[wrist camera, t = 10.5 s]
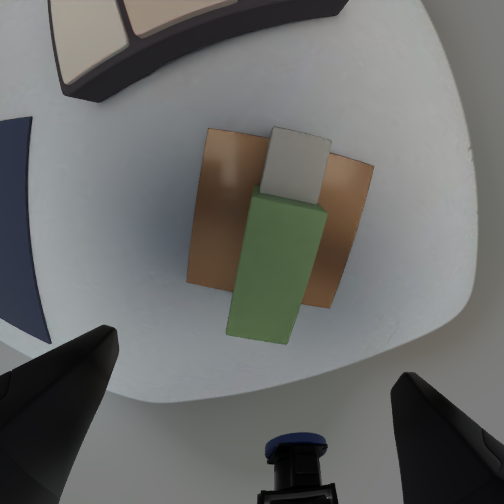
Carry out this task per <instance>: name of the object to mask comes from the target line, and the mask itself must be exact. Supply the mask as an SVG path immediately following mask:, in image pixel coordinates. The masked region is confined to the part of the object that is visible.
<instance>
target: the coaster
mask: <svg viewBox="0 0 504 504" xmlns="http://www.w3.org/2000/svg"><path fill="white" fill-rule="evenodd" d="M269 139H270V138H265V137H260V136H255V135H249V134H244V133H238V132H232V131H225V130H219V129H212V128H208V132H207V138H206V143H205V149H204V155H203V161H202V167H201V173H200V179H199V185H198V192H197V199H196V206H195V213H194V221H193V228H192V237H191V245H190V254H189V263H188V273H187V283H192V284H196V285H201V286H206V287H211V288H216V289H221V290H226V291H231V292H233V290H234V285H235V280H236V274H237V269H238V264H239V259H240V253H241V248H242V243H243V238H244V233H245V228H246V222H247V217H248V212H249V207H250V202H251V197H252V193H253V188H254V185H259V186H260V183H261V178H262V173H263V168H264V164H265V159H266V154H267V149H268V144H269ZM373 169H374V166H372V165H369V164H366V163H363V162H360V161H356V160H353V159H350V158H346V157H343V156H339V155H336V154H332V153H329V156H328V161H327V165H326V169H325V174H324V178H323V182H322V186H321V190H320V194H319V198H318V203H319V204H320V205H321V206H322V207H323V209H324V210H325V211H326V212H327V213H328V215H327V219H326V223H325V226H324V230H323V233H322V237H321V241H320V244H319V247H318V251H317V254H316V258H315V261H314V264H313V268H312V271H311V274H310V277H309V281H308V284H307V287H306V290H305V293H304V296H303V299H302V302H301V304H304V305H310V306H316V307H323V308H330V306H331V304H332V301H333V299H334V296H335V293H336V291H337V288H338V285H339V282H340V279H341V277H342V274H343V271H344V268H345V265H346V262H347V259H348V256H349V253H350V250H351V247H352V244H353V241H354V238H355V234H356V231H357V228H358V224H359V221H360V218H361V214H362V211H363V207H364V204H365V200H366V196H367V193H368V189H369V185H370V181H371V177H372V173H373Z"/></svg>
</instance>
